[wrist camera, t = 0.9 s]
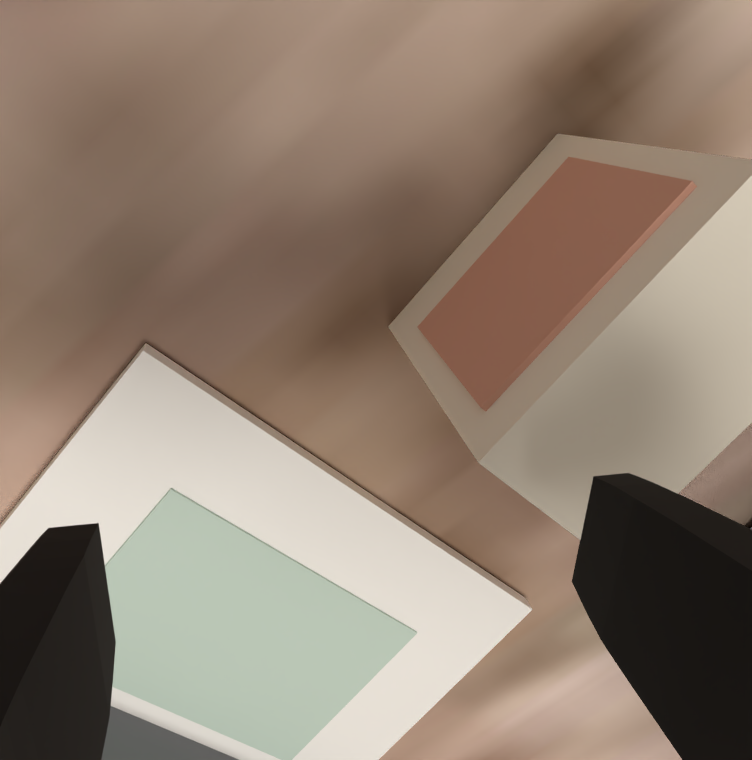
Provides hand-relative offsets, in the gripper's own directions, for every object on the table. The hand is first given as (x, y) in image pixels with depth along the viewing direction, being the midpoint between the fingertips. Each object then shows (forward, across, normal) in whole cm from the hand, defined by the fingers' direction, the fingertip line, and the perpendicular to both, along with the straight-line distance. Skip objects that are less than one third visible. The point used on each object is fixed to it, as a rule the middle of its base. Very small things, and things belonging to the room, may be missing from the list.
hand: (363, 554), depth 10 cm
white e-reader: (+10, +1, +10) cm, 14 cm away
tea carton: (+10, -7, -1) cm, 12 cm away
